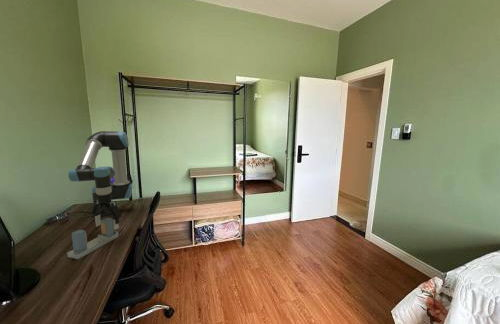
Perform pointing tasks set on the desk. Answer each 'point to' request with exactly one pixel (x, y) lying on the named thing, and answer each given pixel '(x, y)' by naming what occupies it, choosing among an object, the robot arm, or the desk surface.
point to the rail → (87, 243)
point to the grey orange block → (107, 227)
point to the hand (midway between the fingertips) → (107, 227)
